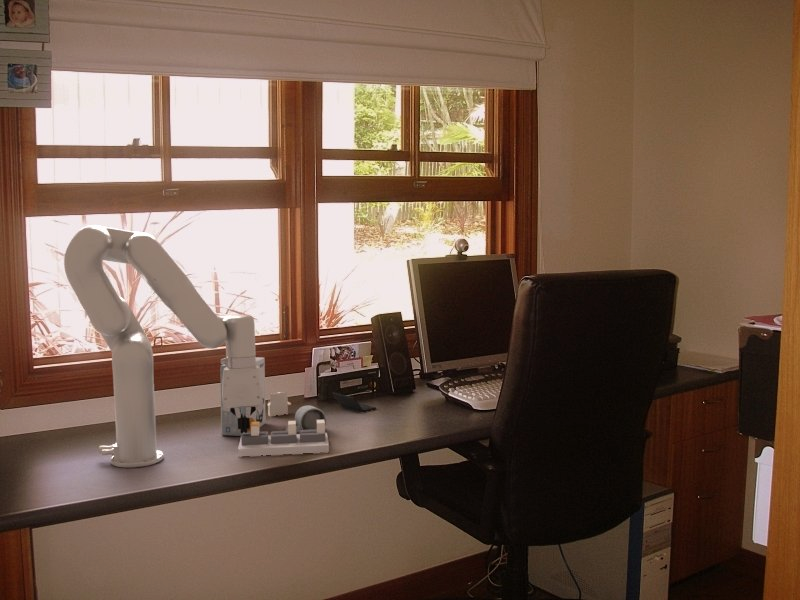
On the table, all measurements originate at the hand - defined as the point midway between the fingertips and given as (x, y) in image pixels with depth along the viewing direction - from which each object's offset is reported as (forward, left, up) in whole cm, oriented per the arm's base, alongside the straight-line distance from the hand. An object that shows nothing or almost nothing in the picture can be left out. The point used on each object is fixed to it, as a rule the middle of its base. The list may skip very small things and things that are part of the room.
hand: (244, 431), depth 212 cm
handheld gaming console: (+32, +40, -5) cm, 51 cm away
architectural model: (+8, +37, -6) cm, 38 cm away
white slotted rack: (+10, 0, -5) cm, 11 cm away
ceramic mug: (+16, +14, -5) cm, 22 cm away
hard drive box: (-1, +21, -5) cm, 22 cm away
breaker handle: (+3, 0, -1) cm, 3 cm away
